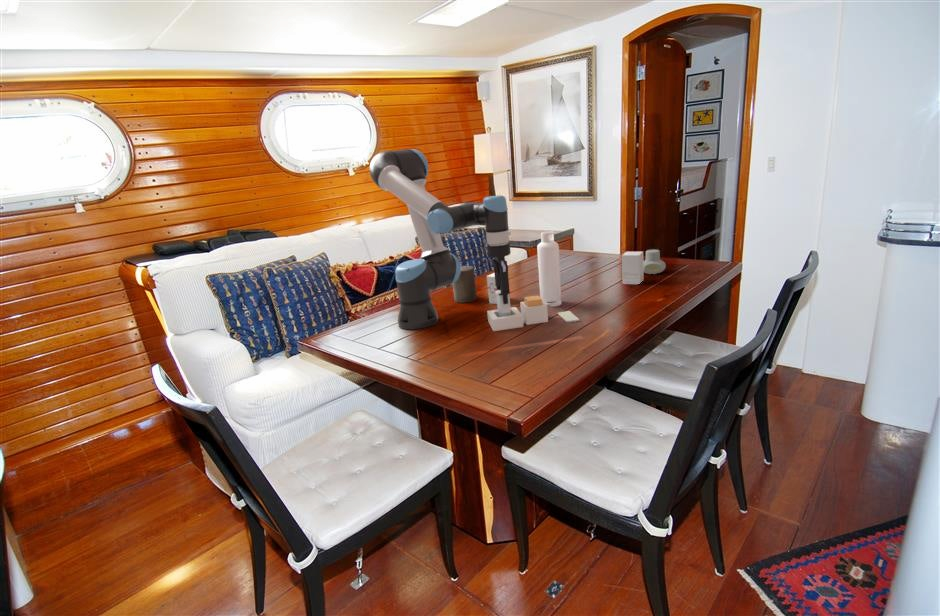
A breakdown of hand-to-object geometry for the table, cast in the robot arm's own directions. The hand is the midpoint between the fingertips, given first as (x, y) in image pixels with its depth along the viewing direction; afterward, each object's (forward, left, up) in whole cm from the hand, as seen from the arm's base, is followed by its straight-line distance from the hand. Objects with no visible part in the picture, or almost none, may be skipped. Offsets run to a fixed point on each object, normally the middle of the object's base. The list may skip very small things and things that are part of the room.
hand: (504, 309), depth 166 cm
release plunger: (+10, 0, -5) cm, 12 cm away
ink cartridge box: (+4, +31, -7) cm, 32 cm away
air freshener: (+76, +41, -7) cm, 87 cm away
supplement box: (+62, +31, -7) cm, 70 cm away
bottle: (+22, +18, -6) cm, 29 cm away
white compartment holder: (+5, 0, -6) cm, 8 cm away
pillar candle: (-9, +40, -7) cm, 42 cm away
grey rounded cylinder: (0, 0, -5) cm, 5 cm away
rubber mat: (+20, 0, -6) cm, 21 cm away
